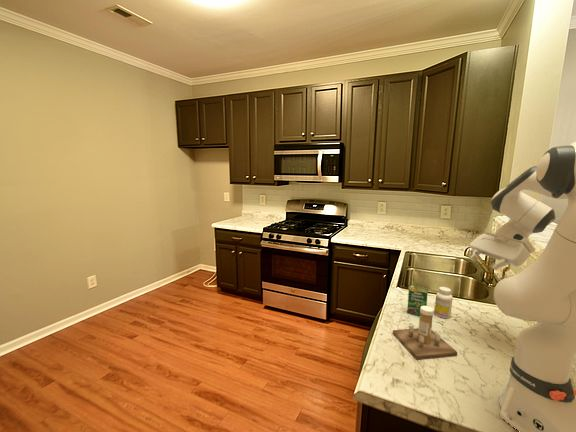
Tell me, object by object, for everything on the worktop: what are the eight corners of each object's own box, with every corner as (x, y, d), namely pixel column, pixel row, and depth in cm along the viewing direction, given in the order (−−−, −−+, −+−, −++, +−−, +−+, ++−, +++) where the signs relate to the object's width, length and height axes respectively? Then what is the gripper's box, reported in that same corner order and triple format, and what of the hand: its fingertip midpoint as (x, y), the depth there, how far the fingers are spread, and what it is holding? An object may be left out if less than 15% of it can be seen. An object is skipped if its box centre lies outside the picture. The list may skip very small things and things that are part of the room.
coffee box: (406, 313, 130) (408, 286, 128) (407, 310, 133) (409, 284, 131) (425, 318, 126) (428, 291, 124) (425, 315, 129) (428, 288, 126)
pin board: (456, 355, 101) (458, 341, 100) (416, 359, 98) (418, 345, 97) (428, 330, 116) (429, 318, 115) (392, 333, 114) (393, 321, 113)
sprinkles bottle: (433, 342, 106) (436, 309, 104) (424, 345, 104) (427, 312, 102) (422, 336, 110) (426, 304, 108) (414, 338, 108) (417, 306, 106)
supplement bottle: (440, 310, 134) (443, 284, 132) (453, 316, 128) (457, 290, 126) (430, 313, 131) (433, 287, 129) (444, 319, 125) (447, 293, 123)
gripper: (481, 226, 115) (457, 250, 115) (531, 239, 95) (502, 267, 95) (489, 237, 116) (465, 260, 116) (540, 251, 96) (511, 279, 96)
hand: (482, 264), depth 106 cm, fingers open, 8 cm apart
